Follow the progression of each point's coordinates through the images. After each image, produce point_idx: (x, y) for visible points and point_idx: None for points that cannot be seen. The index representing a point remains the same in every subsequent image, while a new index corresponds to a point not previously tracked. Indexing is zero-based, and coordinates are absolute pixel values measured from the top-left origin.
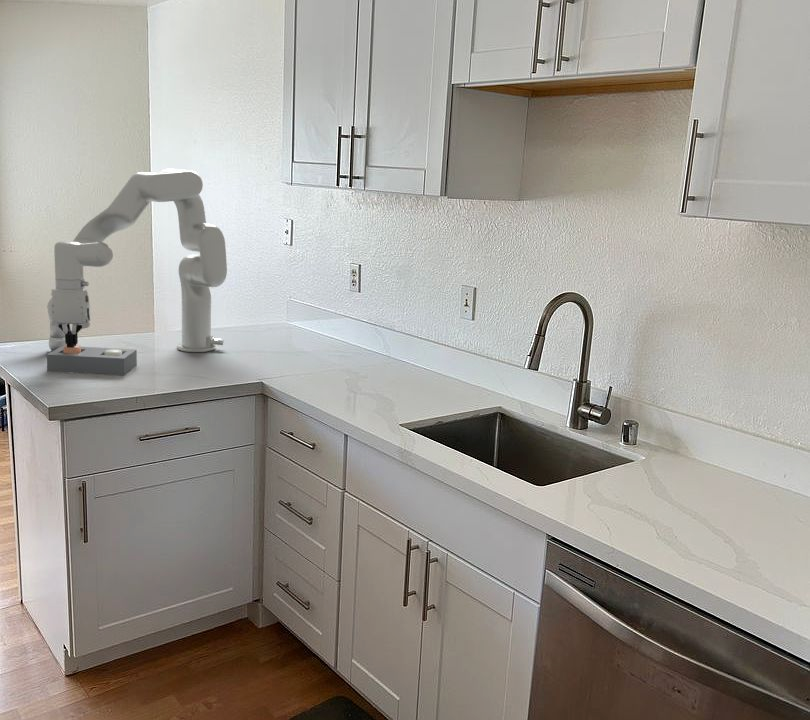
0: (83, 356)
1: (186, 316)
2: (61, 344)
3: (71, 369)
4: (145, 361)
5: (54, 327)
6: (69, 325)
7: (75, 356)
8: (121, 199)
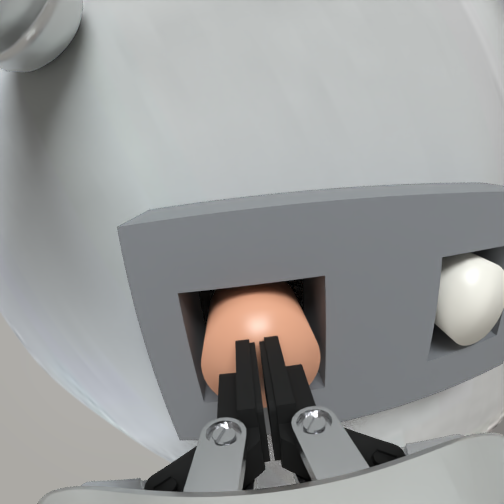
0: (363, 415)
1: None
2: (45, 47)
3: None
4: (483, 104)
5: None
6: (242, 484)
7: None
8: None
